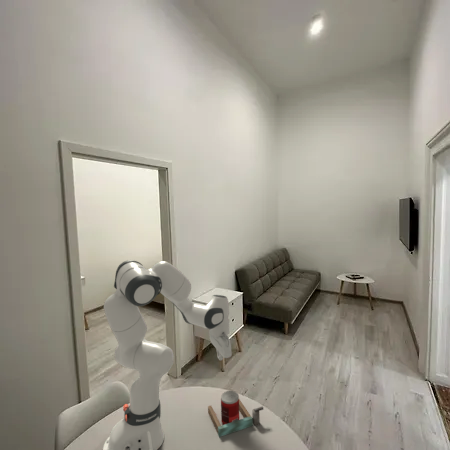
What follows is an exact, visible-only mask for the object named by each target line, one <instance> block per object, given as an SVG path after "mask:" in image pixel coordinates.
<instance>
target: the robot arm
mask: <svg viewBox="0 0 450 450" xmlns="http://www.w3.org/2000/svg"><path fill="white" fill-rule="evenodd" d="M114 275H115V278H114V284H113V287H114V288H115V289H116V291H115V292H114V293H112V294H110V295H109V296H108V297H107V298H106V300H104V304H103V310H104V314H105V315H104V316H105V318H106V321H107V323H108V325H109V327H110V329H111V331H112V333H113V335H114V338H115V339H116V341H117V343H118V344H117V346H116V348H115V350H114V360H115V362H116V363H118V364H119V365H120V366H122V367H124V368H126V369H129V370H133V371H136V372H138V373H139V377H138V378H137V379H135V380H134V381H133V382H132V384H131V385H130V388H129V404H128V403H125V404H123V406H122V407H123V412H124V413H123V416H124V417H123V418H122V419H120V420H119V421H118V422H116V423H115V425H114V426H113V427H112V429H111V432H110V434H109V436H108V437H107V438H106V440H105V442H104V444H103V447H102V450H158V449H159V448H160V447H161V446H162V444H163V442H164V439H165V434H164V431H163V428H162V422H161V421H162V420H161V417H162V415H161V414H162V408H161V407H162V405H161V401H160V400H161V399H160V384H161V381H162V378H163V377H164V376H165V375H166V374H168V373H169V371H170V370H171V368H172V367H173V366H174V365H173V364H174V360H175V355H174V351H173V349H172V348H171V347H169V346H168V345H166V344H163V343H160V342H156V341H151V340H147V339H146V338H145V337H146V335H147V332H148V326H147V323H146V321H145V318H144V316H143V315H142V313H141V311H140V308H139V307H143V306H147V305H149V304H150V303H151V302H153V301H154V300H155V299H156V298H157V296H158V295H160V294H161V295H162V296H163V297H165V298H166V299H167V300H168V301H170V302H171V304H173V306H174V307H175V308H176V309H177V310H178V311H179V312H180V313H181V315H182V319H183V320H184V322H185V323H186V324H187V325H194V326H197V327H200V328H203V329H207V330H208V332H209V333H208V334H209V341H210V343H211V345H213V346H214V347H215V349H216V354H217V359H218V360H219V361H223V360H224V359H227V358H231V357H232V353H233V352H232V342H231V340H230V339H231V338H229V336H228V335H229V334H230V320H229V315H230V303H229V299H228V296H225V295H222V294H213V295H211V299H210V300H209V302H208V303H207V304H203V303H199V302H196V301H192V300H190V299H189V298H188V297H189V296H190V294H191V291H192V284H191V282H190V279H188V277H187V276H186V275H185V274H184V273H183V272H182V271H181V270H179V269H178V268H177V267H176V266H175V265H173V264H171V262H168V261H165V260H161V261H157V263H155V264H154V265H152V267H151V268H146V267H145V266H144V265H143V264H142V263H141V262H139V261H137V260H135V259H134V260H133V259H132V260H131V259H130V260H128V259H127V260H125V261H122V262H121V263H120V264H119V265H118V267H117V269H116V271H115V274H114Z"/></svg>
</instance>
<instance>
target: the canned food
mask: <svg viewBox="0 0 450 450" xmlns="http://www.w3.org/2000/svg"><path fill="white" fill-rule="evenodd" d="M239 395H240V394H238V392H236V391H234V390H227V391H224V392H222V393H221V396H220V414H221V415H220V416H221V417H220V419H221V421H220V422H221V424H222V425H225V424H228V423H231V422H234V421H237V420H240V411H239V399H240V397H239Z"/></svg>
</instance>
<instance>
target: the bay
mask: <svg viewBox="0 0 450 450" xmlns="http://www.w3.org/2000/svg"><path fill="white" fill-rule="evenodd" d="M263 410H264V407H263V406H260V407H259V406H258V407H257V408H253V409H252V416H251V414H250V412H249V410H247V408H246V406H245V405H244V404H243V403H242V401H241V399H240V398H239V414H240V415H241V416H242V417H243V418H241V419H240V418H239V420H237V421H234V422H231V423H228V424H225V425H223V424H222V423H221V421H220V420H219V418H218V416H217V414H216V413H215V410H214V409H213V406H212V405H208V406H207V414H208V416H209V418H210V420H211V422H212V425H213V427H214V428H215V430H216V431H215V432H216V433H217V435H218V437H219V438H220V437H223V436H226V435H230V434H232V433H236V432H239V431H241V430H244V429H246V428H249V427H253V426H255V427H256V426H259V425H260V423H261V422H260V421H261V420H260V411H263ZM221 424H222V425H221Z"/></svg>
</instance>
